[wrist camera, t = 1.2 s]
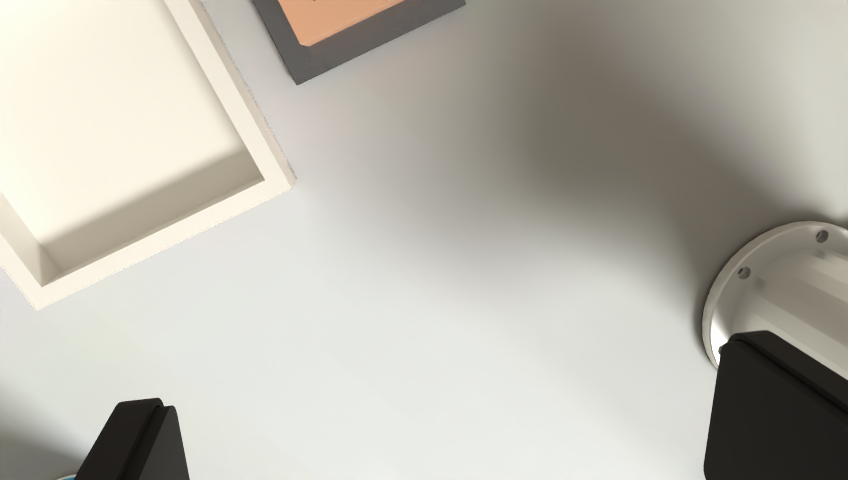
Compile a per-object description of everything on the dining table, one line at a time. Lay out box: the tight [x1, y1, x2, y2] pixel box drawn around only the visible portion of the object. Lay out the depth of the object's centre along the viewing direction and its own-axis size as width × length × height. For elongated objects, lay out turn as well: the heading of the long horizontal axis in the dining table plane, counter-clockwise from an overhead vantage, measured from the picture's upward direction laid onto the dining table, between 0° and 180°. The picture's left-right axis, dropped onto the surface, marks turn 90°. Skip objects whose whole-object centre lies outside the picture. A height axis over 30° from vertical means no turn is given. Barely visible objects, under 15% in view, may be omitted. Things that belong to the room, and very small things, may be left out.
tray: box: [0, 0, 296, 311], centre depth 30 cm, size 15×15×3 cm
